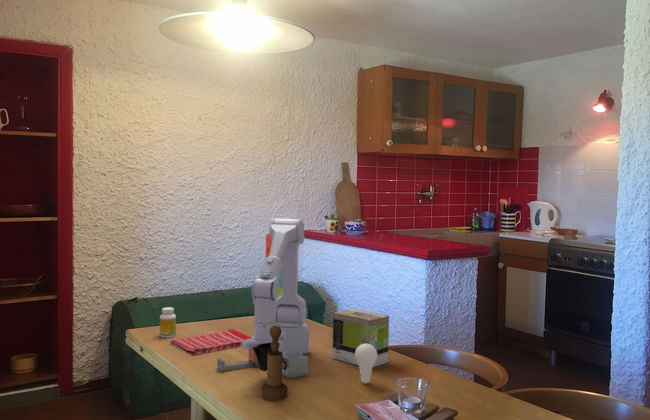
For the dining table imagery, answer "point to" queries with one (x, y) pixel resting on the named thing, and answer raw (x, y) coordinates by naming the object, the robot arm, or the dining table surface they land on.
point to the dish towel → (211, 342)
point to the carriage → (253, 357)
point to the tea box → (360, 334)
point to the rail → (233, 365)
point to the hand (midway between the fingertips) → (264, 369)
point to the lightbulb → (365, 360)
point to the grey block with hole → (295, 365)
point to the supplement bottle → (167, 323)
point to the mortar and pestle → (274, 370)
